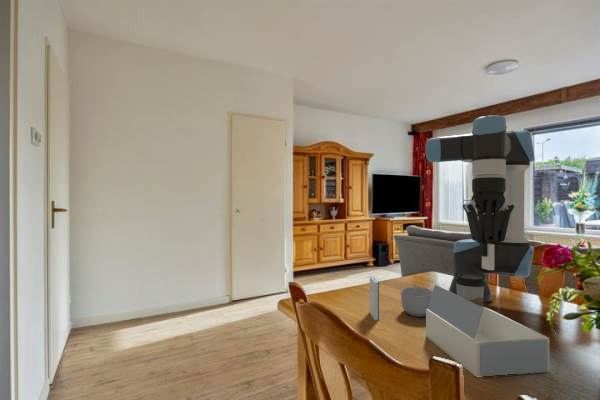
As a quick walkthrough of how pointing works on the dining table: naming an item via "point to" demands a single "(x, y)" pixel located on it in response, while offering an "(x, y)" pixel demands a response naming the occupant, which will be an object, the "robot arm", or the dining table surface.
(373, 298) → the hard drive
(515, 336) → the carton
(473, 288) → the coffee cup
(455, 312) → the flap
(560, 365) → the dining table surface
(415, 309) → the teacup
